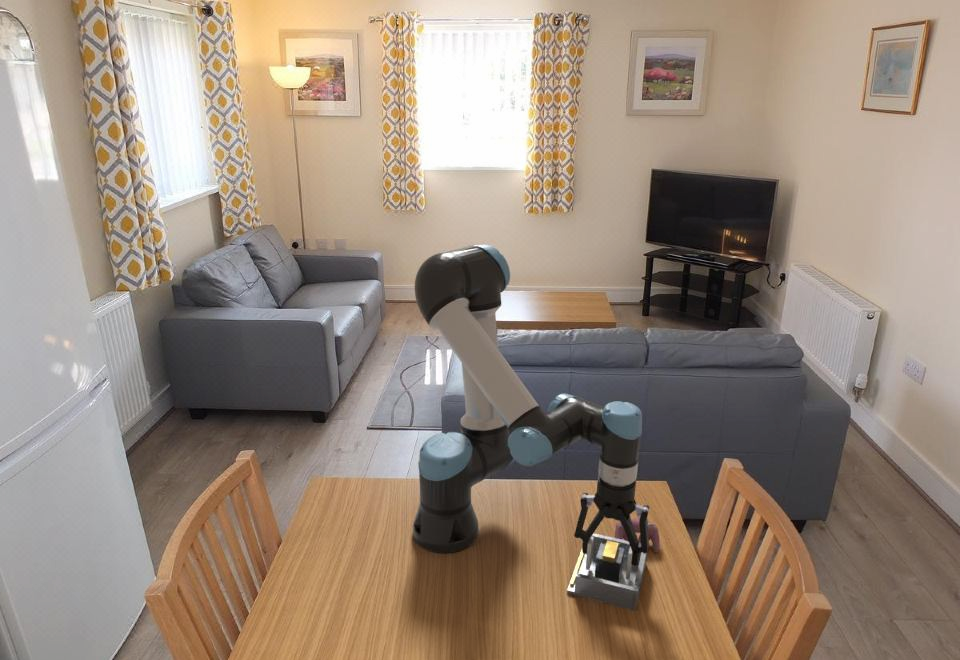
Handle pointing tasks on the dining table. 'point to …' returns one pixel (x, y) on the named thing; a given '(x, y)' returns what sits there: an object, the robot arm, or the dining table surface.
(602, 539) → the open box
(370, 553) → the dining table surface
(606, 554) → the grey and yellow block
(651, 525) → the video game controller
